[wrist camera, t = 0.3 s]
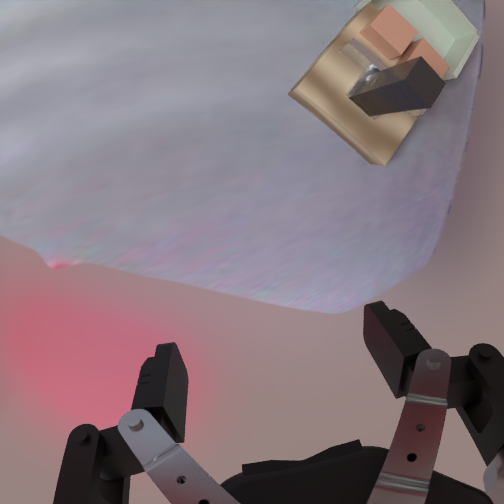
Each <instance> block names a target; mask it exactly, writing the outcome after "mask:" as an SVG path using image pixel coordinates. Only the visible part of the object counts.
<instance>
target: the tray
mask: <svg viewBox="0 0 504 504" xmlns="http://www.w3.org/2000/svg"><path fill="white" fill-rule="evenodd" d="M369 2H371V3H372V4H373V5H374V6H375V7H376V8H378V9H379V10H380V9H381V8H383V7H384V6H386V5H387V4H389V5H390V6H392V7H393V8H394V9H395V10H396V11H397V12H398V13H399V14H400V15H401V16H402V17H404V18H405V19H406V20H407V21H408V22H409V23H410V24H411V25H412V26H413V27H414V28H415V29H416V30H417V31H418V33H417V34H416V36H415V37H414V38H413V40H412V41H413V42H414V41H416V40H419V39H421V38H424V39H425V40H426V41H427V42H428V43H429V44H430V45H431V46H432V47H433V48H434V49H435V50H436V52H437V53H438V54H439V55H440V56H441V57H442V58H443V59H444V61H445V62H446V63H447V64H448V65H449V68H448V69H447V71H446V73H445V74H444V77H443V78H442V80H443V81H444V80H449V79H454V78H457V77H458V75H459V73H460V72H461V70H462V68H463V66H464V64H465V63H466V61H467V59H468V57H469V56H470V54H471V52H472V50H473V48H474V46H475V45H476V43H477V41H478V39H479V37H480V35H481V34H480V33H479V32H478V31H477V29H476V28H475V27H474V26H473V25H472V23H471V22H470V21H469V20H468V19H467V17H466V16H465V15H464V14H463V13H462V12H461V11H460V9H459V8H458V7H457V6H456V5H455V4H454V3H453V2H452V1H451V0H360V1H359V2H358V3H357V4H356V5H355V6H354V8H353V9H354V10H355V11H356V12H358V11H359V10H361V9H362V8H363V7H364V6H366V5H367V4H368V3H369Z"/></svg>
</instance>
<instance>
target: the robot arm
mask: <svg viewBox="0 0 504 504" xmlns="http://www.w3.org/2000/svg"><path fill="white" fill-rule="evenodd" d="M363 336H364V341H365V344H366V347H367V348H368V350H369V352H370V354H371V355H372V357H373V359H374V360H375V362H376V364H377V366H378V367H379V369H380V371H381V373H382V375H383V376H384V378H385V380H386V381H387V383H388V385H389V387H390V389H391V391H392V392H393V394H394V396H395V398H396V399H397V398H400V397H403V396H405V397H406V400H405V404H404V408H403V410H402V414H401V417H400V420H399V423H398V426H397V429H396V432H395V435H394V438H393V441H392V444H391V447H390V449H385V448H381V447H375V446H362V445H361V443H360V440H359V439H358V440H355V441H352V442H348V443H344V444H341V445H337V446H334V447H331V448H328V449H326V450H324V451H322V452H320V453H318V454H316V455H314V456H312V457H310V458H308V459H305V460H300V461H288V460H286V461H285V460H283V461H282V460H269V461H263V462H257V463H250V464H243V465H242V471H243V472H242V473H239V474H237V475H234V476H233V477H231V478H229V479H227V480H226V481H224V482H223V483H222V484H220V485H219V484H218V483H217V482H216V481H215V480H214V479H213V478H212V477H211V476H209V474H208V473H207V472H206V471H205V470H204V469H203V468H202V467H201V466H200V465H199V464H198V463H197V462H196V461H195V460H194V459H193V458H192V457H191V456H190V455H189V454H188V453H187V452H186V451H185V450H184V449H183V448H182V447H181V446H180V445H179V444H176V443H183V442H184V437H185V420H186V406H187V393H188V374H187V370H186V367H185V364H184V362H183V359H182V357H181V354H180V352H179V349H178V347H177V345H176V343H175V342H173V343H165V344H159V345H157V347H156V352H155V356H154V357H149V358H147V360H146V361H145V362H144V364H143V365H142V367H141V370H140V374H139V378H138V385H137V386H136V391H135V395H134V399H133V403H132V408H131V411H129V412H127V413H125V414H124V415H123V416H122V417H121V419H120V420H119V423H118V425H117V426H114V427H111V428H107V429H104V430H100V431H99V430H98V429H97V428H96V427H95V426H94V425H91V424H82V425H80V426H78V427H76V428H75V429H73V430H72V432H71V433H70V435H69V437H68V441H67V445H66V449H65V453H64V456H63V461H62V465H61V469H60V473H59V477H58V482H57V487H56V491H55V497H54V501H53V504H129V503H128V502H129V489H130V476H131V475H134V474H138V473H141V472H145V471H146V473H147V474H148V475H149V477H150V478H151V479H152V481H153V482H154V483H155V484H156V486H157V487H158V488H159V489H160V491H161V492H162V493H163V494H164V495H165V497H166V498H167V499H168V500H169V502H170V503H171V504H504V357H503V356H502V355H501V353H500V352H499V351H498V350H497V349H496V348H495V347H494V346H492V345H490V344H485V343H481V344H477V345H474V346H473V347H472V348H471V349H470V352H469V355H467V356H458V357H450V356H449V355H448V354H447V353H446V352H444V351H442V350H440V349H432V348H431V346H430V345H429V344H428V343H427V341H426V340H425V339H424V338H423V336H422V335H421V334H420V333H419V331H418V330H417V329H415V327H414V325H413V324H412V323H410V320H408V318H407V317H406V315H404V314H403V313H401V312H400V311H398V310H396V309H393V310H389V309H388V307H387V306H386V305H385V303H384V302H383V301H378V302H374V303H370V304H366V305H365V306H364V328H363ZM449 408H456V410H457V412H458V413H459V415H460V417H461V419H462V420H463V422H464V424H465V426H466V428H467V429H468V431H469V433H470V435H471V437H472V439H473V440H474V442H475V444H476V446H477V448H478V450H479V452H480V454H481V456H482V457H483V460H484V461H485V464H486V465H487V468H486V469H485V472H484V475H483V482H484V485H485V486H484V487H485V492H483V491H482V490H480V489H477V488H474V487H472V486H470V485H467V484H465V483H462V482H460V481H457V480H455V479H453V478H450V477H448V476H446V475H443V474H441V473H439V472H436V471H434V470H433V468H434V465H435V461H436V457H437V453H438V449H439V445H440V440H441V436H442V431H443V427H444V421H445V416H446V411H447V409H449Z"/></svg>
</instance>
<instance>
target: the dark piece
mask: <svg viewBox="0 0 504 504" xmlns="http://www.w3.org/2000/svg"><path fill="white" fill-rule="evenodd" d="M339 51H340V52H342V53H343V54H344V55H345V56H346V57H348V58H349V59H350V60H351V61H352V62H353V63H355V64H356V65H357V66H358V67H359V68H360V69H361V70H363V72H362V73H361V74H360V76H359V77H358V78H357V80H356V81H355V82H354V84H353V85H352V86H351V87H350V89H349V90H348V91H347V93H346V94H345V95H346V96H347V97H348V98H349V99H350V100H351V101H353V102H354V103H355V104H356V105H357V106H358V107H359V108H360V109H361V110H363V111H364V112H365V113H366V114H367V115H368V116H369V117H370V118H371V119H376V118H377V117H378V116H379V115H383V114H389V113H396V112H403V111H405V112H406V113H407V114H408V115H409V116H420V115H424V113H425V112H426V110H427V109H426V108H431V106H432V105H433V103H434V101H435V100H436V98H437V97H438V95H439V93H440V92H441V90H442V89H443V87H444V85H445V84H446V83H445V82H444V81H443V80H442V79H441V77H440V76H439V75H438V74H437V73H436V72H435V71H434V70H433V68H432V67H431V66H430V65H429V64H428V63H427V62H426V61H425V60H424V59H423V57H422V56H419V57H417V58H414V59H411V60H408V61H405V62H403V63H400V64H397V65H395V66H392V67H390V68H387V67H386V66H385V65H383V64H382V63H381V62H380V61H379V60H378V59H377V58H376V57H375V56H374V55H373V54H372V53H370V52H369V51H368V50H367V49H366V48H365V47H364V46H362V45H361V44H360V43H359V42H358V41H357V40H355V39H354V38H352V39H351V40H349V41H348V42H347V43H345V44H344V45H343V46H342V47H341V48H340V49H339Z"/></svg>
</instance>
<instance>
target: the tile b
mask: <svg viewBox="0 0 504 504" xmlns="http://www.w3.org/2000/svg"><path fill="white" fill-rule="evenodd" d="M419 56H422V57H423V59H424V60H425V61H426V62H427V63H428V64H429V65H430V66H431V67H432V68H433V70H434V71H435V72H436V73H437V74H438V75H439V76H440V77H441V79H442V77H443V76H444V74H445V73H446V71H447V69H448V68H449V65H448V64H447V63H446V62H445V61H444V59H443V58H442V57H441V56H440V55H439V54H438V53H437V52H436V50H435V49H434V48H433V47H432V46H431V45H430V44H429V43H428V42H427V41H426V40H425V39H424V38H421V39H419V40H416V41H414V42H412V43H410V45H409V46H408V47H407V49H406V50H405V52H404V53H403V54H402V56H401V57H400V58H399V60H398V61H397V62H396V64H395V65H397V64H400V63H403V62H405V61H408V60H411V59H414V58H417V57H419ZM395 65H394V66H395Z"/></svg>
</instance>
